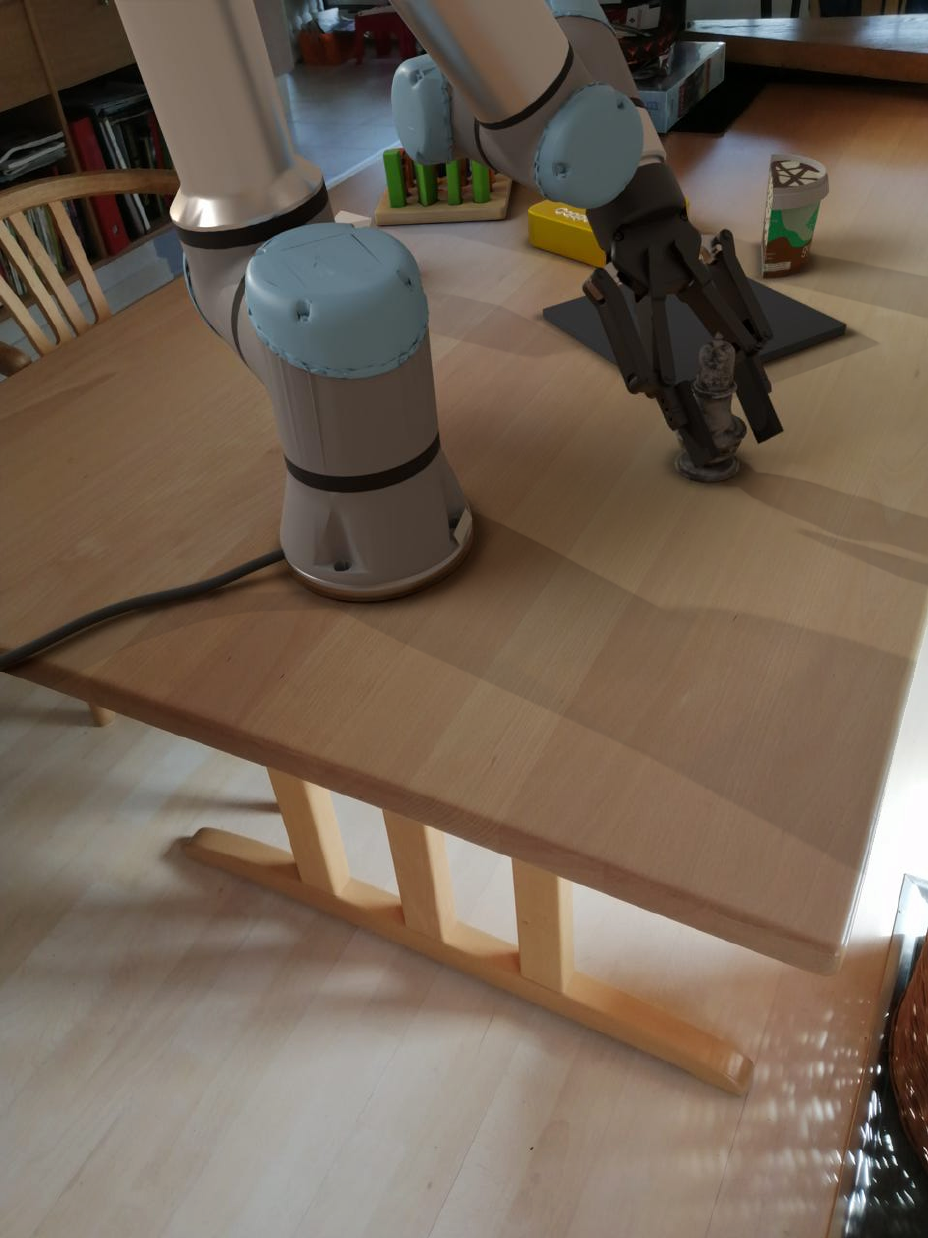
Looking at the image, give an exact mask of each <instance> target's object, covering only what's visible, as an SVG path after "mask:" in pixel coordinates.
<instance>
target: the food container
mask: <svg viewBox="0 0 928 1238" xmlns="http://www.w3.org/2000/svg"><path fill="white" fill-rule="evenodd" d="M766 189H767V190H766V199H765V207H764V216H763V224H762V225H763V226H762V235H761V244H760V248H761V249H760V250H761V273H762V276H761V277H762V279H770V278H772V279H773V278H780V277H787V276H790V275H793V274H796V273H798V272H800V271H802V270H804V269H805V267H806V266H807V264H808V260H809V256H810V252H811V246H812V242H813V237H814V233H815V228H816V224H817V219H818V215H819V214H818V213H819V210H820V206H821V202H822V200H824V199H825V198H826V197H828V195H829V193H830V181H829V175H828V172H827V168H826V166H825V165H824V164H823V163H821V162H820V161H818V160H815V159H812V158H810V157H806V156H802V155H796V154H786V153H785V154H784V153H783V154H782V153H771V154H770V160H769V167H768V181H767V188H766Z"/></svg>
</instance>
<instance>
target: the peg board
mask: <svg viewBox="0 0 928 1238" xmlns="http://www.w3.org/2000/svg"><path fill="white" fill-rule="evenodd" d="M382 161H383V166H384V172H385V179H386V187H385V189H384V191H383V194H382V195H381V198H380V200H379V201H378V204H377V206H376V208H375V210H374V220H375V221H374V222H375V224H376V225H377V226H391V225H414V224H433V223H435V224H436V223H451V222H452V223H453V222H471V221H472V222H473V221H492V220H493V221H494V220H503V219H505V218H506V216H507V211H508V205H509V202H510V201H509V200H510V195H511V189H512V185H513V180H512V179H510V178H509V177H507V176H505V175H503V174H500V173H497V172H495V171H493V170H491V169H489V168H487V167H485V166H483V165H481V164H479V163H477V162H475V161H473V160H471V159H469V158H461V159H457V160H455V161H452V162H451V163H450V164H445V163H439V164H433V165H420V164H418V163H416V162H415V161H413V160H412V159H411V158H410V157H409V155H408V154H407V153H406V151H405V149H404V148H403V147H396V148H390V149H385V150H383V153H382Z"/></svg>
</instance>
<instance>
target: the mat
mask: <svg viewBox="0 0 928 1238" xmlns="http://www.w3.org/2000/svg"><path fill="white" fill-rule="evenodd" d="M702 259H703V258H699V260H700V261H701V262H702ZM702 264H703V263H702ZM703 265H704V266H705V268H706V269H707V270H708V266H707V264H706V265H705V264H703ZM708 272H709V270H708ZM746 277H747V279H748V282H749V284H750V286H751V288H752V290H753V292H754V294H755V296H756V298H757V300H758V302H759V304H760V306H761V308H762V310H763V313H764V315H765V317H766V319H767V321H768V323H769V325H770V327H771V329H772V331H773V334H774V335H773V339H772V340H771V341H769V342H768V343H767V344H766V345H765V346H764V349H763V350H762V351H760V352H759V357H760V360H761V362H762V364H765V363H768V362H771V361H773V360H777V359H779V358H782V357H784V356H787V355H790V354H793V353H795V352H799V351H801V350H804V349H806V348H808V347H812V346H814V345H817V344H821V343H823V342H826V341H828V340H831V339H833V338H837V337H840V336H842V335H845V334H846V331H847V323H845V322H842V321H840V320H838V319H836V318H834V317H832V316H830V315H828V314H826V313H824V312H821V311H819V310H817V309H815V308H813V307H811V306H809V305H807V304H805V303H803V302H800V301H798V300H796V299H794V298H792V297H790V296H788V295H786V294H784V293H782V292H780V291H777V290H776V289H773V288H771V287H769V286H767V285H765V284H763V283H760V282H759V281H756V280H754V279H753V278H751V277H748V276H746ZM693 282H694V281H692V282H691V283H690V284H688V285H689V286H691V285H692V284H693ZM711 282H712V284H713V285H714V283H713V280H712V281H711ZM714 287H715V285H714ZM619 288H620V290H621V291H622V293H623V295H624V298H625V300H626V303H627V306H628V308H629V311H630V313H631V316H632V319H633V321H634V324H635V327H636V329H637V332H638V335H639V337H640V340H641V336H640V329H639V322H638V316H637V315H636V314H635V313H634V309H633V303H632V296H631V290H630V289H629V288H627V287H626V286H625V285H623V284H622V283H619ZM715 288H716V287H715ZM665 307H666V314H667V320H668V327H669V334H670V340H671V347H672V353H673V360H674V367H675V373H676V381H675V384H676V385H677V384H678V383H679V382H682V381H685V380H688V383H689V385H690V387H691V385H692V383H693V381H694V380H696V379H697V371H698V358H699V351H700V349H701V347H702V346H703V345H704V344H706V343H708V342H710V341H714V338H713V337H712V336H711V335H710V333H709V332H708V331H707V329H706V328H705V327H704V325H703V324H702V323H701V321H700V320H699V319H698V317H697V316H696V315H695V314H694V312H693V311H692V310H691V308H690V307H689V306H688V304H686V303H682V302H681V301H680V300H679V299H678V298H677V296H676V295H675V294H667V296H666V300H665ZM542 318H543V319H545V320H546V321H548V322H549V323H551V324H552V325H554V326H556V327H557V328H559V329H560V330H562V331H563V332H564V333H566V334H568V335H569V336H571V337H572V338H574V339H576V340H577V341H578V342H580V343H581V344H582V345H584V346H585V347H587V348H588V349H590V350H592V351H593V352H594V353H597V354H598V355H600V356H601V357H603V358H604V359H606V360H607V361H608V362H610V363H612V364H613V365H614V366H616V367H618V368H619V366H618V364H617V361H616V359H615V356H614V353H613V351H612V348H611V345H610V343H609V340H608V337H607V335H606V332H605V330H604V327H603V324H602V322H601V319H600V316H599V314H598V311H597V309H596V308H595V306H594V305H593V304H592V302H591V301H590V300H589V299H588V297H587V296H586V295H583V296H579V297H576V298H573V299H570V300H567V301H564V302H561V303H557V304H554V305H551V306H547V307H544V308H542ZM734 366H735V365H734ZM691 390H692V388H691Z"/></svg>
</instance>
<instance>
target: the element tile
mask: <svg viewBox="0 0 928 1238" xmlns="http://www.w3.org/2000/svg"><path fill="white" fill-rule="evenodd" d="M684 197H685V200H686V208H687V216H688V219H689V220H690V203H691V201H690V199H689V198H688V197H687V196H685V195H684ZM585 211H586V209H580V208H575V207H572V206H570V205H567V204H564V203H561V202H552V201H549V200H548V199H544V200H542V201H540V202H537V203H535V204H532V205H531V206H529V207H528V209H527V223H528V226H527V227H528V228H527V229H528V242H529V244H530V245H531V246H532V247H534V248H537V249H540V250H544V251H547V252H550V253H553V254H556V255H558V256H562V257H565V258H568V259H572V260H574V261H578V262H580V263H584V264H586V265H589V266H592V267H596V268H598V267H602V268H603V267H604V266H606V264H605V263H606V254H605V251H603V250H602V249H601V248H600V247H599V245H598V243H597V240H596V238H595V236H594V233H593V231H592V229H591V226H590V224H589V222H588V220H587V217H586V215H585Z"/></svg>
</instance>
